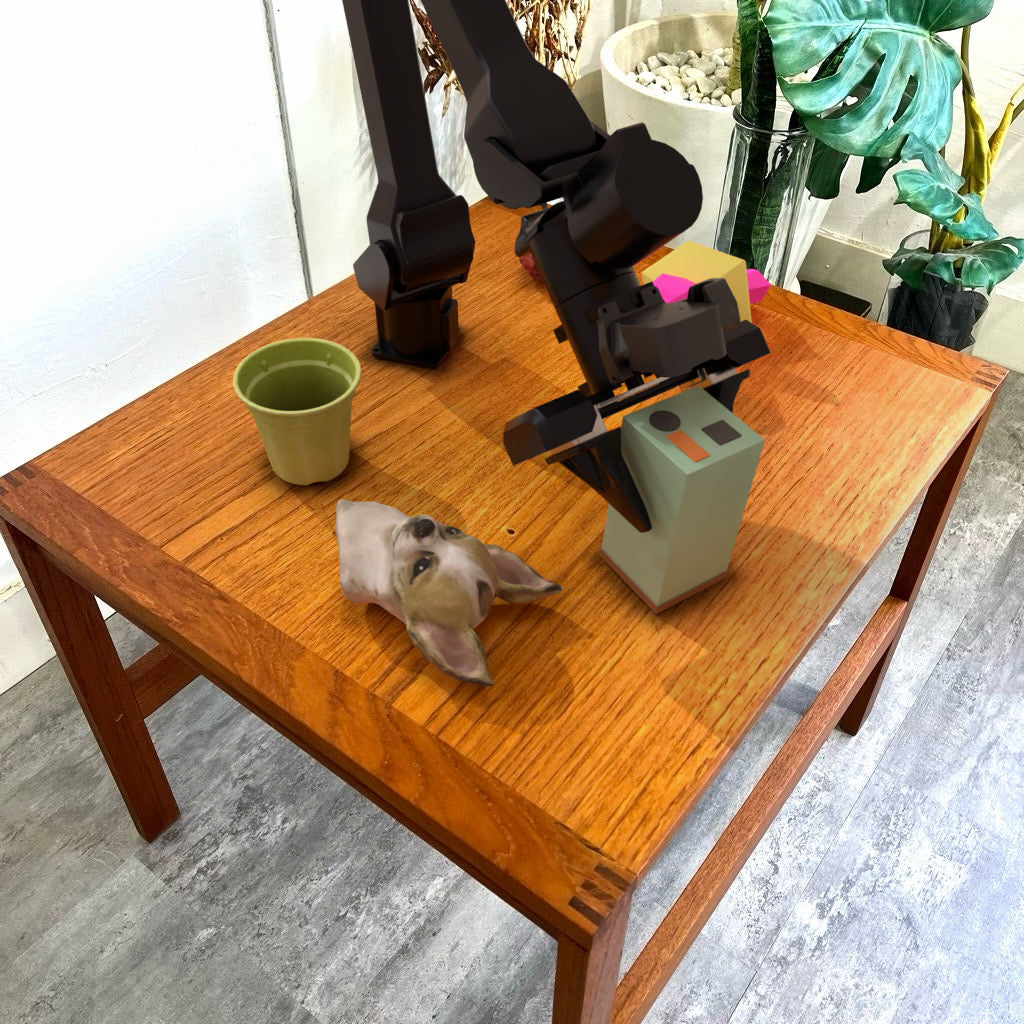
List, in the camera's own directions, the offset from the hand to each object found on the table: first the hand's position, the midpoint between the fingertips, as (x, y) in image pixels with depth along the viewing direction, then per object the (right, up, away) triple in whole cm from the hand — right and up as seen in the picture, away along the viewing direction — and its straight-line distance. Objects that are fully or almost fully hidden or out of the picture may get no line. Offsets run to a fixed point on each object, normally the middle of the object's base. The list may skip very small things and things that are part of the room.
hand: (689, 510), depth 68 cm
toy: (+5, +16, +28) cm, 32 cm away
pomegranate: (-7, +23, +35) cm, 42 cm away
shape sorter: (-1, -4, +6) cm, 7 cm away
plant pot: (-28, +4, +14) cm, 31 cm away
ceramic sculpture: (-17, -7, +3) cm, 19 cm away
